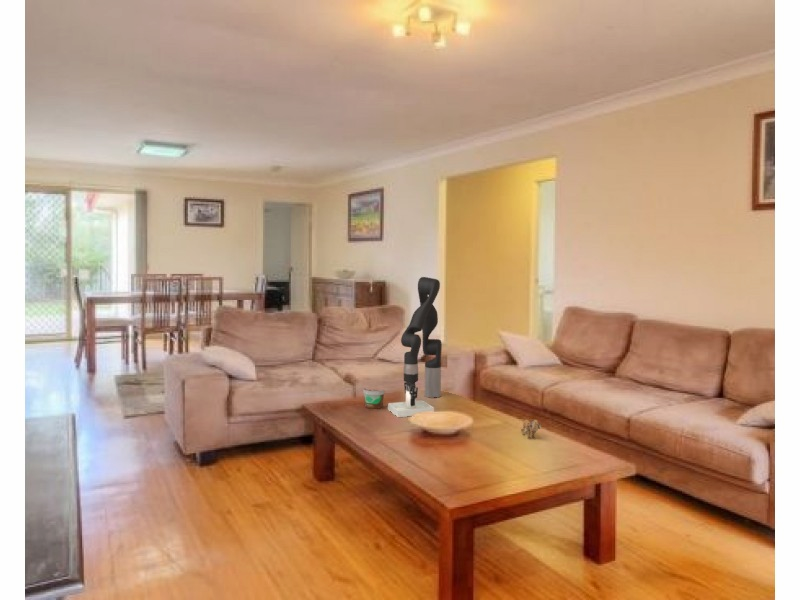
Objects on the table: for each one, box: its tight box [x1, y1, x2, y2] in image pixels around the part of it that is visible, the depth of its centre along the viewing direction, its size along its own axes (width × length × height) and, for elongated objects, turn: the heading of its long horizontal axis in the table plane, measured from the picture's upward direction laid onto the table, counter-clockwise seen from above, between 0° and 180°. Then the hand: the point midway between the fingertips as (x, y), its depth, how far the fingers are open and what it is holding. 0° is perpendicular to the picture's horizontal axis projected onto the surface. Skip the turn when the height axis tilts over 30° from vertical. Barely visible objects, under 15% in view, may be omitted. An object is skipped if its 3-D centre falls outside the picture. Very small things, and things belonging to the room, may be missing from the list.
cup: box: [405, 390, 417, 409], centre depth 289 cm, size 5×5×9 cm
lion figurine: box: [520, 419, 542, 440], centre depth 251 cm, size 15×5×9 cm, turn 16°
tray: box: [387, 399, 435, 418], centre depth 289 cm, size 16×20×4 cm
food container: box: [362, 387, 386, 410], centre depth 295 cm, size 12×6×10 cm, turn 68°
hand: (410, 404), depth 289 cm, fingers closed on cup, 5 cm apart
